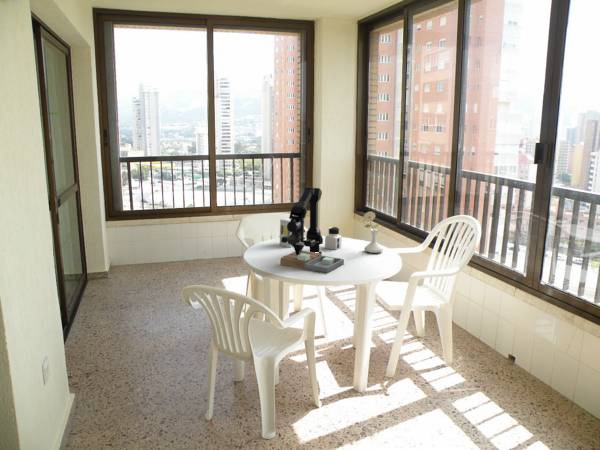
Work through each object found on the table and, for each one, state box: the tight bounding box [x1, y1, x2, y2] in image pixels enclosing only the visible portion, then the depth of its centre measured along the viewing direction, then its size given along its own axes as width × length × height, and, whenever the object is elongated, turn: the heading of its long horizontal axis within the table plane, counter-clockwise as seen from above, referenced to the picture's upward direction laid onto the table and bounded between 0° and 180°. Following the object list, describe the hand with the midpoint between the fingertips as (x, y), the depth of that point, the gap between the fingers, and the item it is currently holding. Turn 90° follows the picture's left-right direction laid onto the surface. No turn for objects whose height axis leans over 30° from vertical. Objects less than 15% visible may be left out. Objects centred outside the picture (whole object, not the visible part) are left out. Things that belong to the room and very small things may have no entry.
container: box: [324, 226, 343, 251], centre depth 325 cm, size 8×8×13 cm
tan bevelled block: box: [280, 250, 323, 270], centre depth 293 cm, size 20×15×4 cm
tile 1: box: [297, 253, 310, 261], centre depth 286 cm, size 5×5×2 cm
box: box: [303, 255, 345, 274], centre depth 286 cm, size 20×14×3 cm
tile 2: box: [322, 256, 335, 265], centre depth 291 cm, size 5×5×2 cm
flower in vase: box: [362, 211, 384, 254], centre depth 316 cm, size 13×11×25 cm
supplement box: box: [279, 217, 294, 248], centre depth 329 cm, size 10×9×17 cm
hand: (297, 256), depth 287 cm, fingers closed
